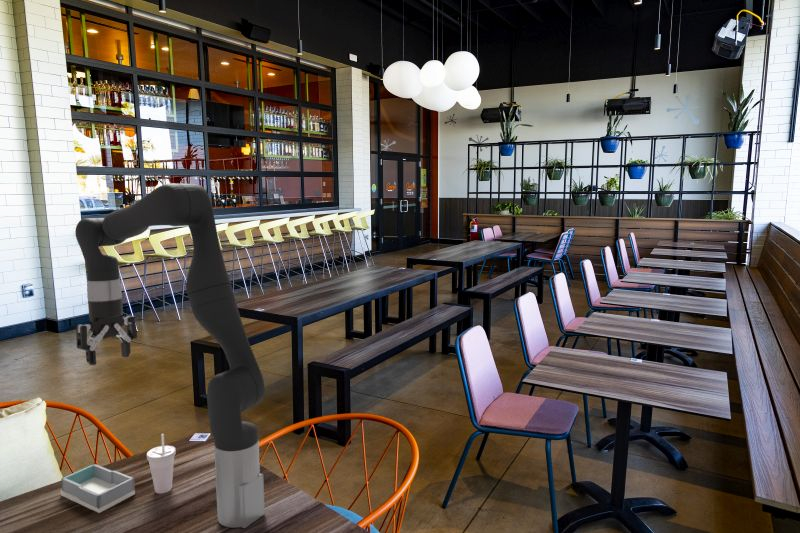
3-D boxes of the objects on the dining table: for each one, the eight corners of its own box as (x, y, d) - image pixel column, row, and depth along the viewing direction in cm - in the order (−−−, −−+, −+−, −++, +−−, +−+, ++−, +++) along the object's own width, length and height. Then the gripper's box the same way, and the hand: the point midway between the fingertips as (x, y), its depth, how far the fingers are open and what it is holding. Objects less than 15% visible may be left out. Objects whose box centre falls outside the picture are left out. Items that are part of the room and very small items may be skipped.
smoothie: (170, 496, 126) (167, 440, 124) (143, 496, 126) (140, 440, 124) (182, 482, 132) (179, 428, 130) (156, 482, 132) (153, 428, 130)
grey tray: (135, 493, 127) (134, 478, 126) (99, 513, 119) (97, 496, 119) (97, 478, 134) (96, 463, 133) (60, 495, 126) (59, 479, 126)
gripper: (84, 303, 127) (89, 370, 128) (140, 294, 139) (144, 355, 140) (67, 300, 130) (72, 365, 132) (123, 292, 143) (127, 352, 144)
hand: (109, 360), depth 136 cm, fingers open, 8 cm apart
